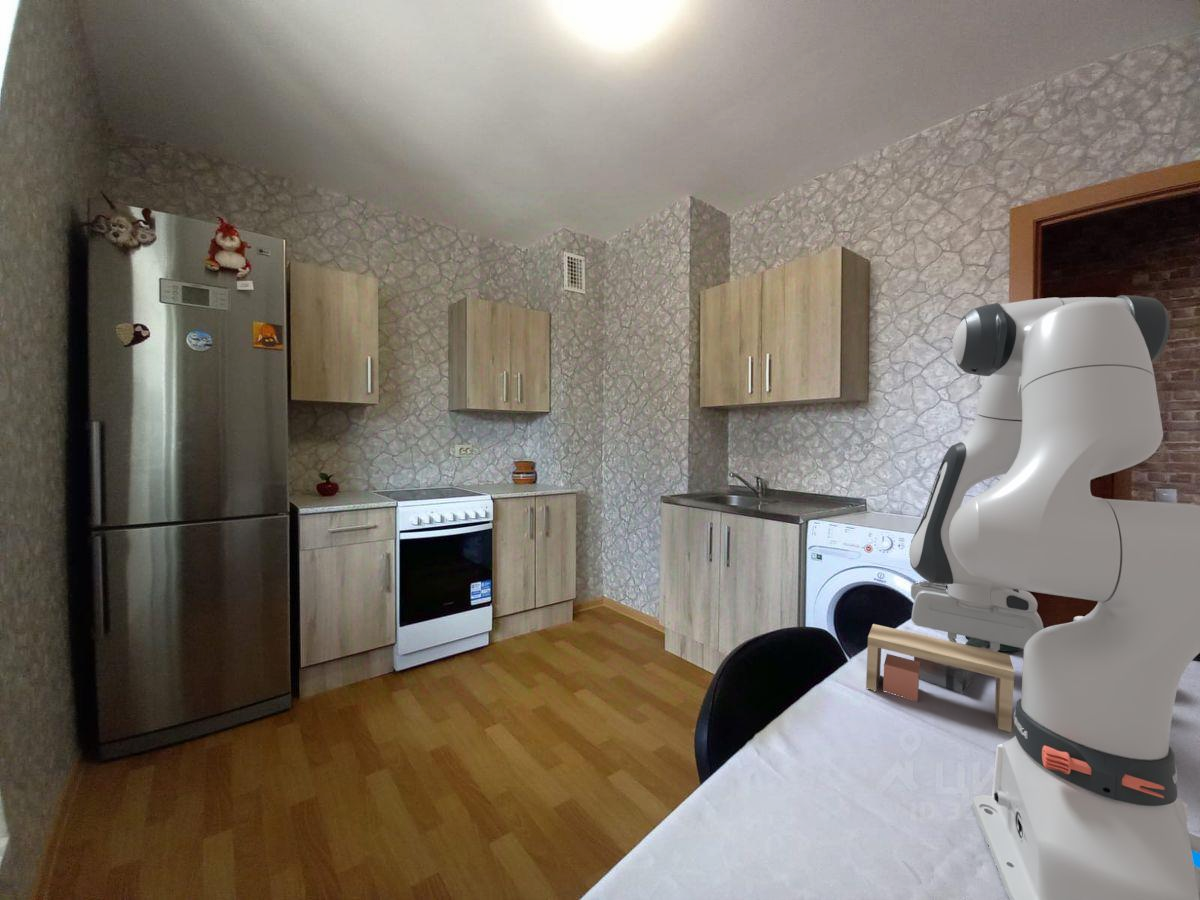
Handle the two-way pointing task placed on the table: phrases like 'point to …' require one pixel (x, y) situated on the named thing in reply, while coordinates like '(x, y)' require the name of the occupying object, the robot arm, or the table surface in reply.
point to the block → (901, 676)
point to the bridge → (945, 662)
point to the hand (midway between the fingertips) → (972, 658)
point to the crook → (949, 671)
